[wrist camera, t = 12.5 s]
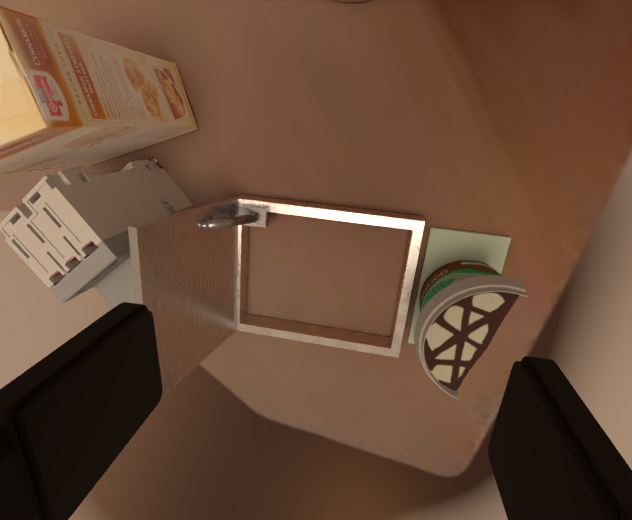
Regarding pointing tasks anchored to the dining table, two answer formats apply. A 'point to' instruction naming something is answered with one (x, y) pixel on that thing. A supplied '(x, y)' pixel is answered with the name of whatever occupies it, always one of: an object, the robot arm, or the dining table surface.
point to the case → (238, 279)
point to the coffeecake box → (80, 97)
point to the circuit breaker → (89, 226)
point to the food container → (460, 318)
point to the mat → (458, 255)
